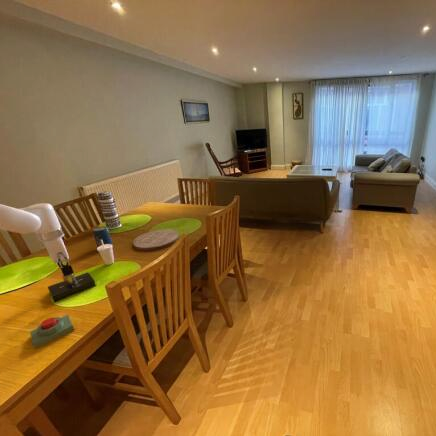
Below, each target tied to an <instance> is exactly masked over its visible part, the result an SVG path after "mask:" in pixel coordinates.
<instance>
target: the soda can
mask: <svg viewBox="0 0 436 436" xmlns="http://www.w3.org/2000/svg"><path fill="white" fill-rule="evenodd" d="M92 235H93V237H94V240H95V243H96V246H97V248H98V247H99V246H101V245H102V242H101V240H102V241H103V244H104V245H105V244H112V245H113V241H112V238H111V235H110V232H109V229H107V227H106V226H97V227H95V228H93V231H92Z"/></svg>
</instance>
